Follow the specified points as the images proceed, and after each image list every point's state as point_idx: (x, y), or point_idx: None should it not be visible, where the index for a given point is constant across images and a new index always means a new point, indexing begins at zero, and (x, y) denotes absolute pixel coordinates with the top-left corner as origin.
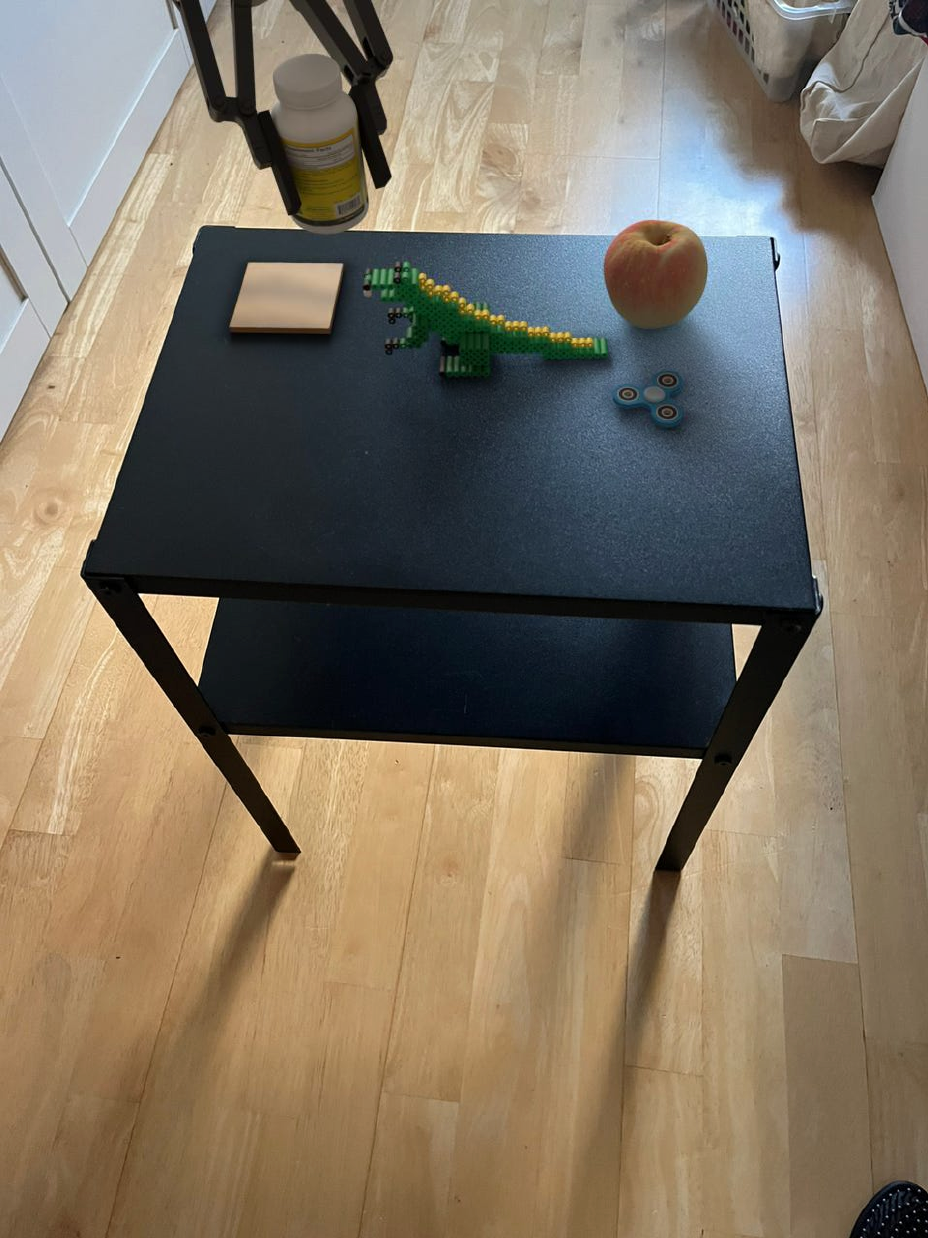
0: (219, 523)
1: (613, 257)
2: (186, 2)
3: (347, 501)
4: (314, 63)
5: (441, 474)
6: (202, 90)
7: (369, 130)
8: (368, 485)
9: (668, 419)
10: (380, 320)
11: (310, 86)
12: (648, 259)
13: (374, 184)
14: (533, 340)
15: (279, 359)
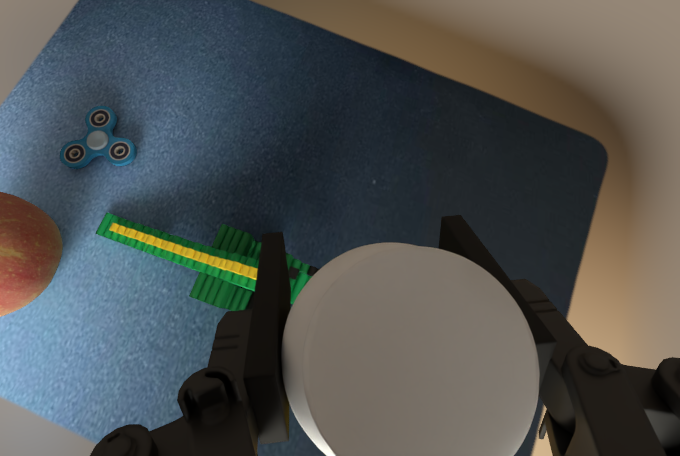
0: (512, 151)
1: (14, 252)
2: None
3: (403, 136)
4: (383, 406)
5: (318, 135)
6: None
7: (271, 290)
8: (382, 146)
9: (103, 110)
10: None
11: (425, 262)
12: None
13: (290, 291)
14: (168, 238)
15: None
